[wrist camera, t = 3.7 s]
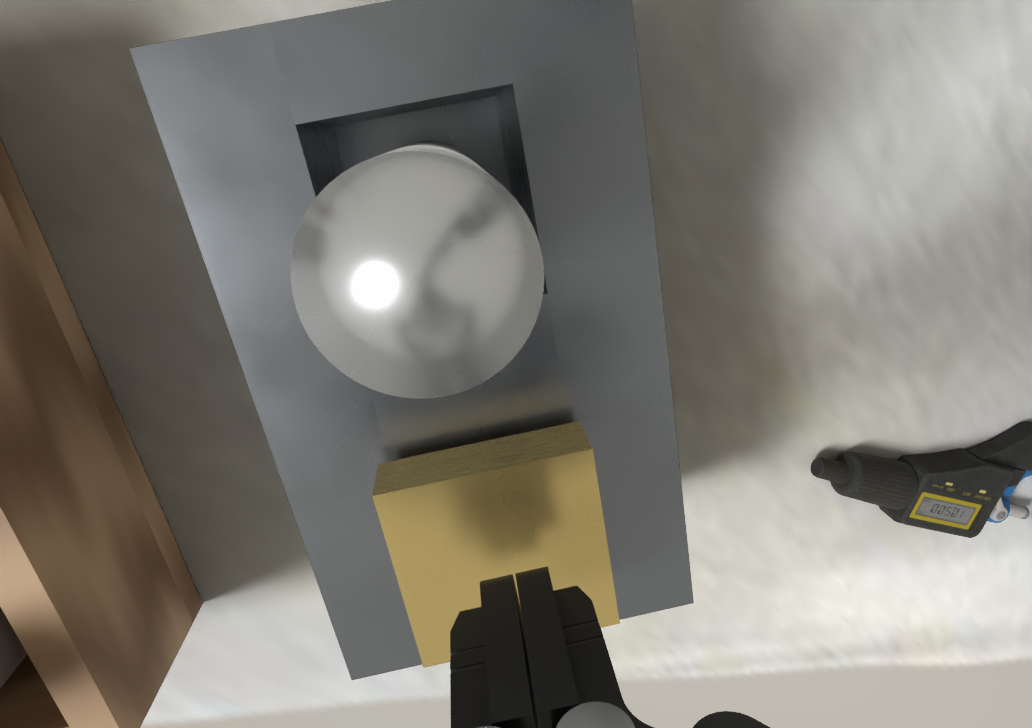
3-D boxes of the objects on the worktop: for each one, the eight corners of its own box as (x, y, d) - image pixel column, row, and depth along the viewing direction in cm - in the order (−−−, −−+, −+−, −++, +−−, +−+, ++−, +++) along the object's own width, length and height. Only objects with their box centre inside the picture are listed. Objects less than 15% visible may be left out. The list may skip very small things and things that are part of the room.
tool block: (224, 74, 18) (129, 48, 13) (571, 10, 19) (627, -43, 13) (372, 552, 24) (352, 680, 18) (635, 494, 24) (693, 603, 19)
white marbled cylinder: (472, 131, 19) (520, 127, 7) (492, 235, 20) (561, 371, 8) (368, 150, 18) (255, 178, 7) (393, 254, 19) (330, 420, 8)
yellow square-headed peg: (392, 387, 20) (372, 496, 14) (547, 355, 21) (592, 448, 15) (428, 520, 22) (423, 667, 16) (570, 489, 22) (620, 623, 16)
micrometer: (1135, 455, 25) (1066, 563, 26) (1088, 433, 26) (1026, 535, 28) (876, 387, 22) (815, 511, 24) (843, 368, 24) (788, 484, 25)
